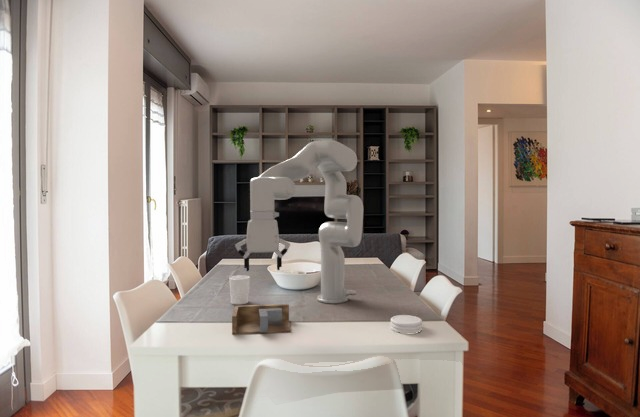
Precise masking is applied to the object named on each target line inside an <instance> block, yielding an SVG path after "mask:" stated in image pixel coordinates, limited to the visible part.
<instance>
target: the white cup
mask: <svg viewBox="0 0 640 417" xmlns="http://www.w3.org/2000/svg"><path fill="white" fill-rule="evenodd" d="M250 278H251V277H250V276H249V275H241V274H239V275H238V274H237V275H232V276H229V277H228V280H229V295H230V296H229V297H230V303H231V304H232V305H235V306H241V305H245V304H248V303H249V296H250V282H251V281H250V280H251V279H250Z"/></svg>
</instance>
